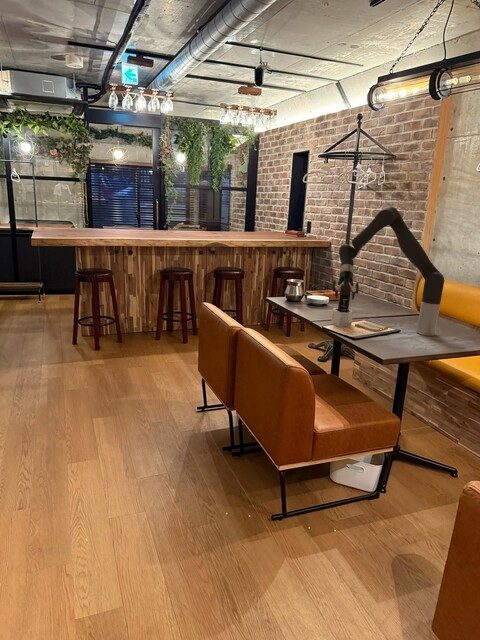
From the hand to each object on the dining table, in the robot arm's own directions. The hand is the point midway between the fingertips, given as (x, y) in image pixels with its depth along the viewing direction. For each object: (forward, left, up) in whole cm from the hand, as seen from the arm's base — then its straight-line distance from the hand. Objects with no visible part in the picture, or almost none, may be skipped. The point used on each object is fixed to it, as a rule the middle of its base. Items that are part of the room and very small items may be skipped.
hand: (344, 298), depth 249 cm
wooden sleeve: (-1, -1, -15) cm, 15 cm away
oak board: (-11, +12, -15) cm, 22 cm away
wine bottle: (-1, -1, -15) cm, 15 cm away
